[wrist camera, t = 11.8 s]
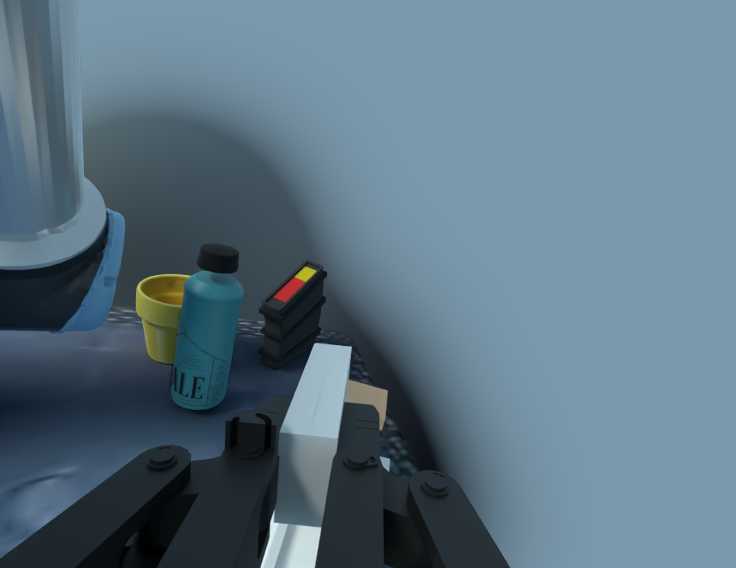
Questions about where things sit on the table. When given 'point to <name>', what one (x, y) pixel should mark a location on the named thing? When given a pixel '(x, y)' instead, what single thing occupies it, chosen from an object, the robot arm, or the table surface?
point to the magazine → (292, 315)
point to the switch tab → (368, 397)
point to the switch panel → (295, 543)
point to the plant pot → (161, 313)
